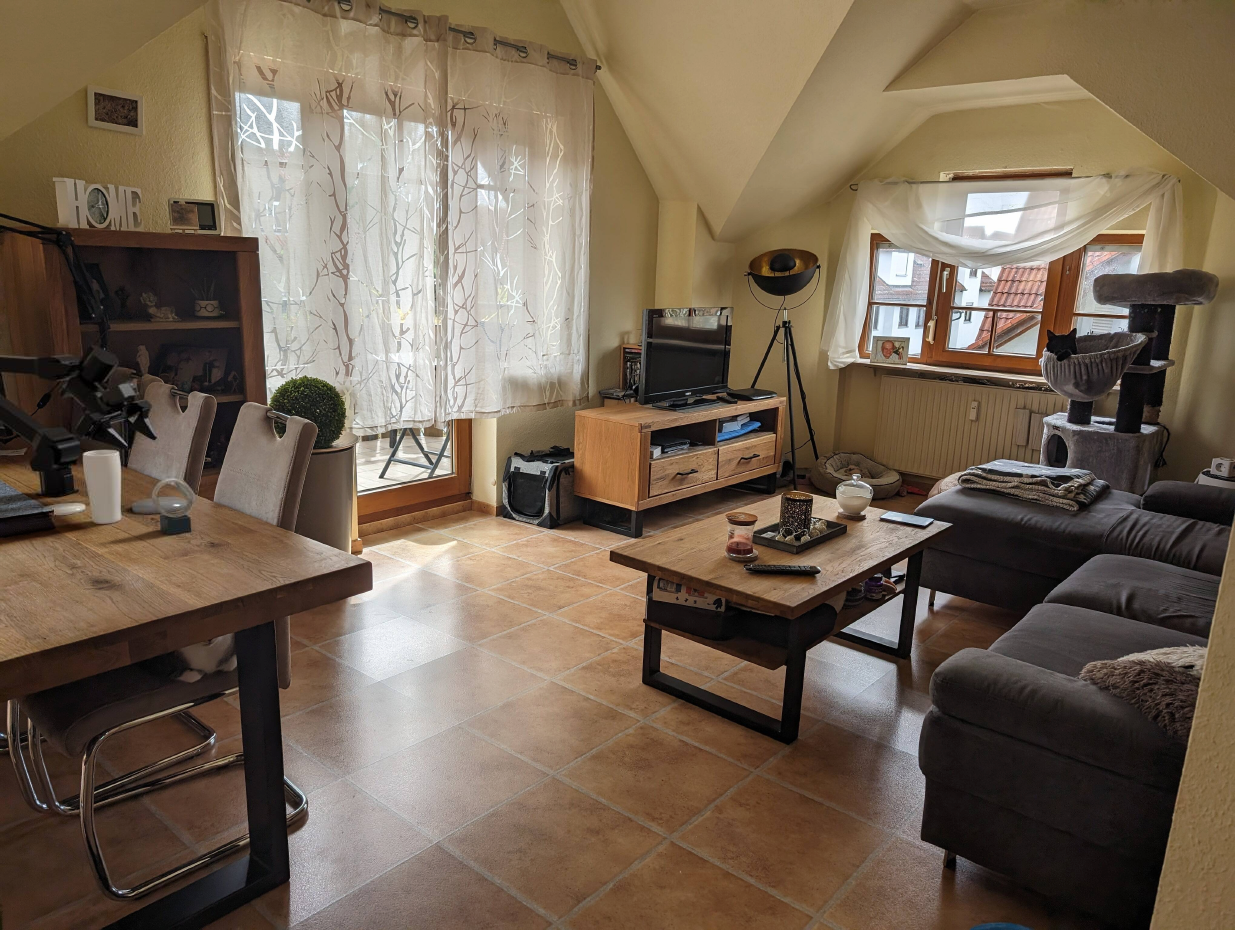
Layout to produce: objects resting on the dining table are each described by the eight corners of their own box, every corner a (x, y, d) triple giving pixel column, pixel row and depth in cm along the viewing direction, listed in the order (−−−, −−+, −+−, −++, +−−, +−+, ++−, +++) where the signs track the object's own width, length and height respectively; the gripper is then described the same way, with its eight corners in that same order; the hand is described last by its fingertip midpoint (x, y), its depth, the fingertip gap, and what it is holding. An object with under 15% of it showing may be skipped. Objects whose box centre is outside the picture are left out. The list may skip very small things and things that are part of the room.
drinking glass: (132, 518, 188) (126, 450, 185) (111, 526, 182) (105, 456, 179) (103, 516, 189) (96, 449, 186) (81, 524, 182) (74, 454, 179)
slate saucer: (120, 511, 193) (120, 506, 193) (156, 500, 204) (156, 495, 203) (162, 515, 191) (162, 510, 191) (197, 504, 201) (197, 499, 201)
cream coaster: (33, 513, 189) (33, 510, 189) (64, 504, 197) (64, 501, 197) (64, 516, 188) (64, 513, 188) (94, 508, 195) (93, 504, 195)
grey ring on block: (201, 530, 181) (197, 479, 179) (159, 536, 176) (155, 484, 174) (192, 524, 185) (188, 474, 183) (151, 530, 180) (147, 479, 177)
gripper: (75, 378, 189) (128, 428, 189) (138, 366, 207) (186, 411, 207) (53, 414, 193) (104, 462, 193) (116, 398, 210) (163, 443, 211)
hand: (141, 443), depth 201 cm, fingers open, 9 cm apart
